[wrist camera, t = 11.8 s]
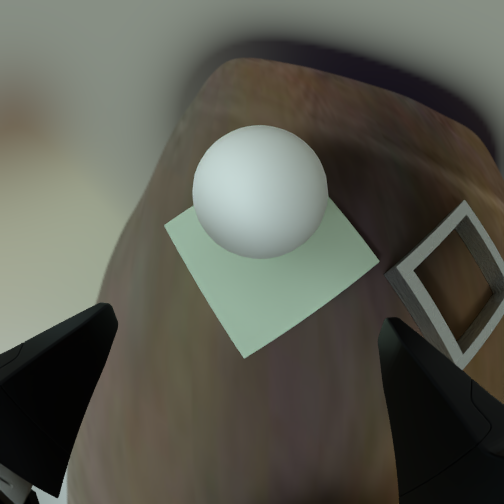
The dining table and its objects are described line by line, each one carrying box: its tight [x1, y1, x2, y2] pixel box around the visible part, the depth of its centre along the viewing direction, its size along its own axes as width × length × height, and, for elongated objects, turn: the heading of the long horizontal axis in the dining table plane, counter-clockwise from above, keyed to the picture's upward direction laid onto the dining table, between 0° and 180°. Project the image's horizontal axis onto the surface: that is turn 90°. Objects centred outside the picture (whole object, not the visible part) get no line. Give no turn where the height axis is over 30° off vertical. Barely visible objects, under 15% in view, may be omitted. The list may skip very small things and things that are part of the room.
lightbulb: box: [192, 125, 328, 259], centre depth 15 cm, size 6×6×11 cm
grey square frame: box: [384, 200, 504, 370], centre depth 17 cm, size 10×10×2 cm
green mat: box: [164, 196, 380, 358], centre depth 20 cm, size 12×12×1 cm
